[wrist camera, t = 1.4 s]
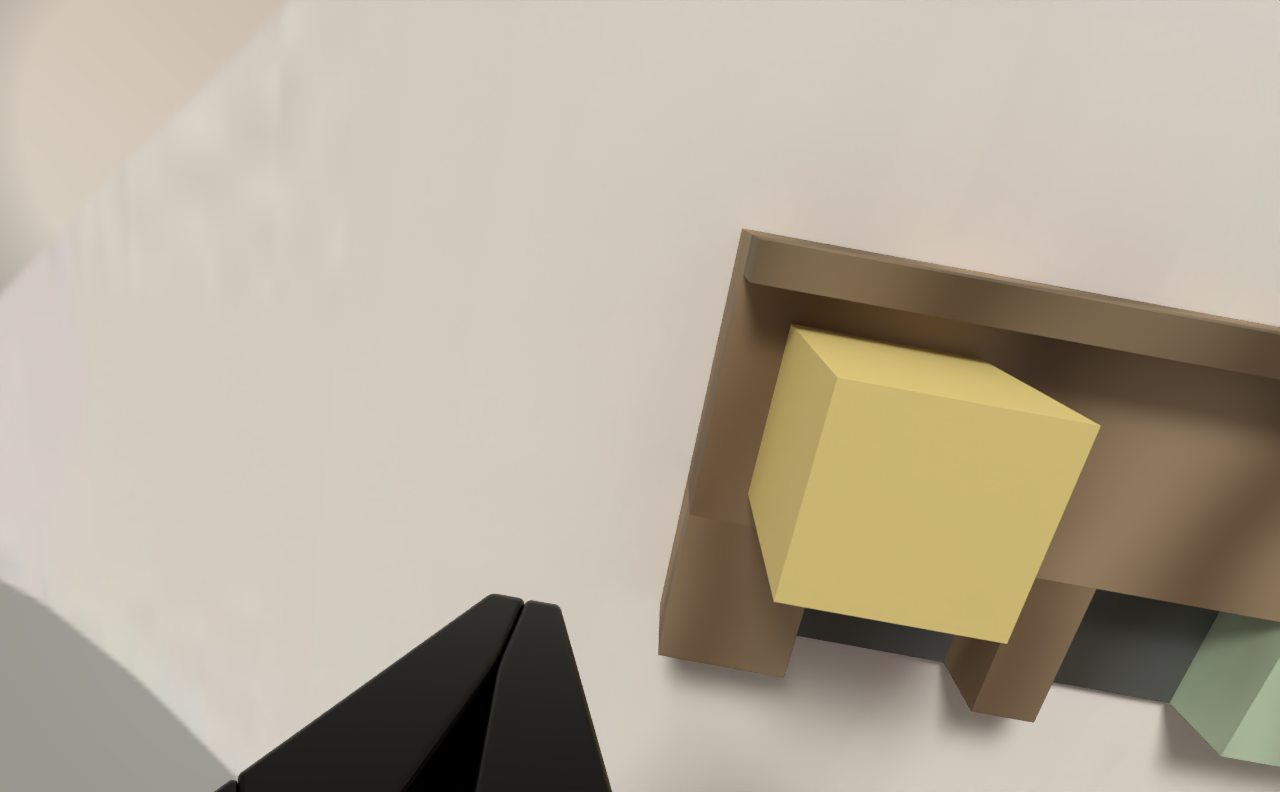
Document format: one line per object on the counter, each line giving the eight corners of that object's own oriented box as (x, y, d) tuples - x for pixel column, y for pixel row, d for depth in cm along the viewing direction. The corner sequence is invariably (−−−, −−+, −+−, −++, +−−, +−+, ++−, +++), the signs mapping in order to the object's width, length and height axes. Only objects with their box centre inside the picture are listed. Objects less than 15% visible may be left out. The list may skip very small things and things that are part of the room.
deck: (1625, 391, 19) (1998, 470, 13) (1385, 736, 23) (1599, 901, 17) (742, 228, 18) (768, 244, 13) (659, 605, 22) (655, 731, 17)
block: (979, 358, 17) (1100, 425, 12) (920, 525, 18) (1007, 644, 14) (791, 324, 17) (837, 377, 12) (748, 494, 18) (774, 602, 14)
